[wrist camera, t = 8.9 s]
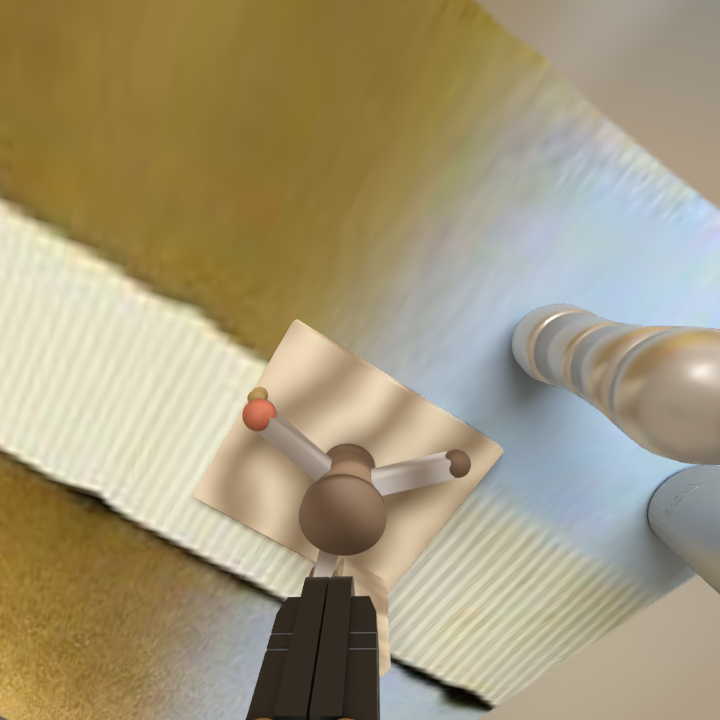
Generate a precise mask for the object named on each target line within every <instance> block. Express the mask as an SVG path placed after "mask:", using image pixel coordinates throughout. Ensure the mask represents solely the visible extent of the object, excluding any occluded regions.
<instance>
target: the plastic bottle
mask: <svg viewBox="0 0 720 720" xmlns="http://www.w3.org/2000/svg"><path fill="white" fill-rule="evenodd" d="M512 350H513V355H514V357H515V359H516V361H517V362H518V363H519V365H520V366H521V367H522V369H523V370H524V371H525V372H526V373H527V374H528V375H529V376H531V377H532V378H534V379H536V380H538V381H541V382H544V383H546V384H549V385H552V386H557V387H560V388H563V389H565V390H567V391H570V392H572V393H574V394H576V395H578V396H579V397H581V398H582V399H584V400H585V401H586V402H588V403H589V404H591V405H592V406H593V407H595V408H596V409H598V410H599V411H600V412H601V413H603V414H604V415H605V416H606V417H607V418H608V419H609V420H610V421H611V422H612V423H614V424H615V425H616V426H617V427H618V428H619V429H620V430H621V431H622V432H623V433H624V434H626V435H627V436H628V437H629V438H630V439H631V440H633V441H634V442H636V443H637V444H638V445H639V446H641V447H642V448H644V449H646V450H647V451H649V452H651V453H653V454H656V455H659V456H662V457H665V458H669V459H672V460H675V461H679V462H682V463H689V464H702V465H720V329H714V328H702V327H680V326H640V325H633V324H625V323H617V322H614V321H611V320H607V319H604V318H601V317H598V316H596V315H594V314H593V313H591V312H589V311H587V310H585V309H582V308H580V307H577V306H574V305H569V304H554V305H547V306H543V307H539V308H537V309H535V310H533V311H531V312H530V313H528V314H527V315H525V316H524V317H523V318H522V319H521V321H520V322H519V323H518V325H517V326H516V328H515V331H514V333H513V337H512Z"/></svg>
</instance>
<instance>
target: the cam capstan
mask: <svg viewBox="0 0 720 720" xmlns="http://www.w3.org/2000/svg"><path fill="white" fill-rule="evenodd" d="M242 419H243V422H244V424H245V425H246V427H247V428H249V429H250V430H252V431H256V432H258V433H259V434H260V435H261V436H262V437H263V438H265V439H266V440H267V441H268V442H269V443H270V444H272V445H273V446H274V447H275V448H276V449H278V450H279V451H280V452H281V453H282V454H283V455H285V456H286V457H287V458H288V459H289V460H290V461H292V462H293V463H294V464H295V465H296V466H297V467H299V468H300V469H301V470H302V471H303V472H304V473H306V474H307V475H308V476H309V477H310V478H312V479H313V480H314V481H315V483H314V484H313V485H311V486H310V488H309V489H308V490H307V491H306V493H305V495H304V497H303V499H302V503H301V506H300V509H299V524H300V528H301V530H302V532H303V534H304V536H305V537H306V538H307V540H308V541H309V542H310V543H311V544H312V545H314V546H315V547H316V548H318V549H319V552H318V556H317V560H316V563H315V566H314V567H313V568H312V570H311V572H310V575H309V577H329V578H330V577H334V573H333V572H334V569H335V565H336V562H337V558H338V555H339V556H350V555H355V554H359V553H362V552H364V551H366V550H368V549H370V548H371V547H372V546H374V545H375V544H376V543H377V542H378V541H379V539H380V538H381V536H382V535H383V533H384V530H385V527H386V507H385V503H384V500H383V498H382V496H384V495H388V494H392V493H397V492H401V491H405V490H410V489H414V488H419V487H423V486H427V485H432V484H436V483H440V482H445V481H449V480H454V479H455V478H461V477H464V476H466V475H467V474H468V473H469V471H470V468H471V461H470V458H469V457H468V455H467V454H466V453H465V452H463V451H461V450H457V449H454V450H450V451H448V452H446V451H445V452H441V453H437V454H433V455H428V456H424V457H420V458H416V459H411V460H407V461H403V462H399V463H395V464H390V465H386V466H382V467H378V468H375V462H374V459H373V457H372V456H371V454H370V453H369V452H368V451H367V450H366V449H364V448H363V447H361V446H359V445H356V444H350V443H346V444H340V445H337V446H334V447H333V448H331V449H330V450H329V451H328V452H327V453H326V454H325V453H324V452H323V451H322V450H321V449H320V448H318V447H317V446H316V445H315V444H314V443H313V442H312V441H310V440H309V439H308V438H307V437H306V436H305V435H304V434H302V433H301V432H300V431H299V430H298V429H297V428H296V427H294V426H293V425H292V424H291V423H290V422H289V421H288V420H286V419H285V418H284V417H283V416H282V415H281V414H279V413H278V412H277V411H276V409H275V407H274V405H273V404H272V403H271V402H270V401H268V400H266V399H263V398H257V399H254V400H251V401H250V402H248V403H247V404H246V406H245V407H244V409H243V412H242Z"/></svg>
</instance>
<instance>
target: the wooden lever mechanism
mask: <svg viewBox="0 0 720 720" xmlns="http://www.w3.org/2000/svg"><path fill="white" fill-rule="evenodd" d="M257 398H263V399H266V400H268V401H270V402H271V403H272V404H273V405H274V407H275V409H276V411H277V412H278V413H279V414H281V415H282V416H283V417H284V418H285V419H286V420H288V421H289V422H290V423H291V424H292V425H293V426H294V427H296V428H297V429H298V430H299V431H300V432H301V433H302V434H304V435H305V436H306V437H307V438H308V439H309V440H310V441H312V442H313V443H314V444H315V445H316V446H317V447H318V448H320V449H321V450H322V451H323V452H324V453H325V454H326V453H327V452H328V451H329V450H330V449H331V448H333V447H334V446H337V445H340V444H346V443H350V444H356V445H359V446H361V447H363V448H364V449H366V450H367V451H368V452H369V453H370V454H371V456H372V457H373V459H374V462H375V468H378V467H382V466H386V465H390V464H395V463H399V462H403V461H407V460H411V459H416V458H420V457H424V456H428V455H433V454H437V453H441V452H445V451H446V452H448V451H450V450H454V449H457V450H461V451H463V452H465V453H466V454H467V455H468V457H469V458H470V461H471V468H470V471H469V473H468V474H467V475H466V476H464V477H461V478H455V479H454V480H449V481H445V482H440V483H436V484H432V485H427V486H423V487H419V488H414V489H410V490H405V491H401V492H397V493H392V494H388V495H384V496H382V498H383V500H384V503H385V507H386V527H385V530H384V533H383V535H382V536H381V538H380V539H379V541H378V542H377V543H376V544H375V545H374V546H372V547H371V548H370V549H368V550H366V551H364V552H362V553H359V554H355V555H350V556H339V555H338V558H337V562H336V565H335V569H334V572H335V573H337V576H353V577H354V587H355V596H370V598H371V600H372V603H373V605H374V607H375V610H376V613H377V627H378V642H379V675H380V676H382V677H383V676H384V675H385V673H386V672H387V671H388V670H389V669H390V668H391V664H390V644H389V624H388V604H387V593H388V592H389V591H390V590H391V589H392V587H393V586H394V585H395V584H396V582H397V581H398V580H399V579H400V578H401V576H402V575H403V574H404V573H405V572H406V570H407V569H408V568H409V567H410V565H411V564H412V563H413V562H414V561H415V559H416V558H417V557H418V556H419V555H420V553H421V552H422V551H423V550H424V548H425V547H426V546H427V545H428V544H429V542H430V541H431V540H432V539H433V538H434V536H435V535H436V534H437V533H438V531H439V530H440V529H441V528H442V527H443V525H444V524H445V523H446V522H447V521H448V519H449V518H450V517H451V516H452V514H453V513H454V512H455V511H456V510H457V508H458V507H459V506H460V505H461V503H462V502H463V501H464V500H465V499H466V497H467V496H468V495H469V494H470V493H471V491H472V490H473V489H474V488H475V486H476V485H477V484H478V483H479V482H480V480H481V479H482V478H483V477H484V476H485V474H486V473H487V472H488V471H489V469H490V468H491V467H492V466H493V465H494V463H495V462H496V461H497V460H498V459H499V457H500V456H501V455H502V454H503V452H504V450H503V449H502V448H501V446H500V445H499V444H498V443H497V442H495V441H494V440H492V439H490V438H489V437H487V436H486V435H484V434H482V433H481V432H479V431H477V430H476V429H474V428H473V427H471V426H469V425H468V424H466V423H464V422H463V421H461V420H460V419H458V418H456V417H455V416H453V415H451V414H450V413H448V412H447V411H445V410H443V409H442V408H440V407H439V406H437V405H435V404H434V403H432V402H430V401H429V400H427V399H426V398H424V397H422V396H421V395H419V394H417V393H416V392H414V391H413V390H411V389H409V388H408V387H406V386H404V385H403V384H401V383H400V382H398V381H396V380H395V379H393V378H392V377H390V376H388V375H387V374H385V373H383V372H382V371H380V370H379V369H377V368H375V367H374V366H372V365H370V364H369V363H367V362H366V361H364V360H362V359H361V358H359V357H357V356H356V355H354V354H353V353H351V352H349V351H348V350H346V349H345V348H343V347H341V346H340V345H338V344H336V343H335V342H333V341H332V340H330V339H328V338H327V337H325V336H323V335H322V334H320V333H319V332H317V331H315V330H314V329H312V328H311V327H309V326H307V325H306V324H304V323H302V322H301V321H299V320H298V319H296V320H294V321H293V322H292V324H291V326H290V327H289V329H288V331H287V333H286V334H285V336H284V338H283V340H282V341H281V343H280V345H279V346H278V348H277V350H276V352H275V353H274V355H273V357H272V359H271V360H270V362H269V364H268V365H267V367H266V369H265V371H264V372H263V374H262V376H261V377H260V379H259V381H258V383H257V384H256V386H255V388H254V389H253V390H252V391H251V392H250V393H249V395H248V400H247V402H246V403H245V405H244V407H245V406H246V404H247V403H248V402H250V401H251V400H254V399H257ZM244 407H243V409H244ZM243 409H242V410H241V412H240V414H239V415H238V417H237V419H236V421H235V422H234V424H233V426H232V428H231V429H230V431H229V433H228V434H227V436H226V438H225V440H224V441H223V443H222V445H221V447H220V448H219V450H218V452H217V453H216V455H215V457H214V459H213V460H212V462H211V464H210V465H209V467H208V469H207V471H206V472H205V474H204V476H203V478H202V479H201V481H200V483H199V484H198V486H197V488H196V490H195V491H194V493H193V495H192V496H193V497H195V498H197V499H198V500H200V501H202V502H204V503H206V504H208V505H210V506H212V507H213V508H215V509H217V510H219V511H221V512H223V513H225V514H226V515H228V516H230V517H232V518H234V519H236V520H238V521H239V522H241V523H243V524H245V525H247V526H249V527H251V528H253V529H254V530H256V531H258V532H260V533H262V534H264V535H266V536H267V537H269V538H271V539H273V540H275V541H277V542H279V543H281V544H282V545H284V546H286V547H288V548H290V549H292V550H294V551H295V552H297V553H299V554H301V555H303V556H305V557H307V558H309V559H310V560H312V561H314V562H316V560H317V556H318V552H319V549H318V548H316V547H315V546H314V545H312V544H311V543H310V542H309V541H308V540H307V538H306V537H305V536H304V534H303V532H302V530H301V528H300V524H299V509H300V506H301V503H302V499H303V497H304V495H305V493H306V491H307V490H308V489H309V488H310V486H311V485H313V484H314V483H315V481H314V480H313V479H312V478H310V477H309V476H308V475H307V474H306V473H304V472H303V471H302V470H301V469H300V468H299V467H297V466H296V465H295V464H294V463H293V462H292V461H290V460H289V459H288V458H287V457H286V456H285V455H283V454H282V453H281V452H280V451H279V450H278V449H276V448H275V447H274V446H273V445H272V444H270V443H269V442H268V441H267V440H266V439H265V438H263V437H262V436H261V435H260V434H259V433H258V432H256V431H252V430H250V429H249V428H247V427H246V425H245V424H244V422H243V419H242V412H243Z"/></svg>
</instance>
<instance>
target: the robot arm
mask: <svg viewBox="0 0 720 720" xmlns="http://www.w3.org/2000/svg"><path fill="white" fill-rule="evenodd" d="M648 519H649V523H650V527H651V528H652V530H653V532H654V533H655V534H656V535H657V536H658V537H659V538H660V539H661V540H662V541H663V542H664V543H665V544H666V545H667V546H668V547H669V548H670V549H672V550H673V551H674V552H675V553H676V554H677V555H678V556H679V557H680V558H681V559H682V560H683V561H685V562H686V563H687V564H688V565H689V566H690V567H691V568H692V569H693V570H694V571H695V572H696V573H697V574H698V575H699V576H701V577H702V578H703V579H704V580H705V581H706V582H707V583H708V584H709V585H710V586H711V587H712V588H714V589H715V590H716V591H717V592H718V593H719V594H720V466H714V465H702V466H696V467H692V468H688V469H686V470H683V471H681V472H679V473H677V474H675V475H674V476H672V477H670V478H669V479H668V480H667V481H665V482H664V483H663V484H662V485H661V486H660V487H659V489H658V490H657V491H656V492H655V494H654V496H653V498H652V500H651V502H650V506H649V509H648ZM379 688H380V687H379V642H378V627H377V613H376V610H375V607H374V605H373V603H372V600H371V598H370V596H355V587H354V577H353V576H334V577H330V578H329V577H306V579H305V582H304V586H303V590H302V594H301V597H288V598H287V600H286V601H285V603H284V604H283V605H282V607H281V608H280V610H279V611H278V613H277V615H276V618H275V622H274V625H273V629H272V634H271V636H270V639H269V642H268V646H267V652H266V653H265V656H264V660H263V663H262V666H261V670H260V673H259V677H258V680H257V684H256V687H255V691H254V694H253V697H252V701H251V704H250V708H249V711H248V714H247V717H246V720H380V691H379Z"/></svg>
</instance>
